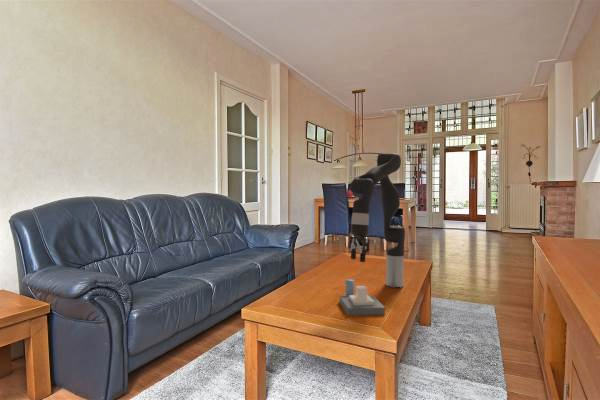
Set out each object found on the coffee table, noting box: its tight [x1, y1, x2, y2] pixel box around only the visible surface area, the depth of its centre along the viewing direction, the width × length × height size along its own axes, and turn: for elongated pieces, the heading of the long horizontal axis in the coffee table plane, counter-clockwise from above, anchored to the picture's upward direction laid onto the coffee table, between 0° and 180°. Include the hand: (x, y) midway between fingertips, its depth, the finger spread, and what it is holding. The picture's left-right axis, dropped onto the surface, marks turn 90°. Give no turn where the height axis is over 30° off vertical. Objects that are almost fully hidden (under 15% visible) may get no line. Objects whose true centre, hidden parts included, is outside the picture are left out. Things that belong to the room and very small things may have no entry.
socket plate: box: [339, 295, 386, 316], centre depth 148 cm, size 16×16×3 cm
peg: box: [344, 278, 355, 296], centre depth 160 cm, size 4×4×9 cm
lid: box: [349, 285, 374, 305], centre depth 148 cm, size 9×9×6 cm
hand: (357, 260), depth 145 cm, fingers open, 8 cm apart
